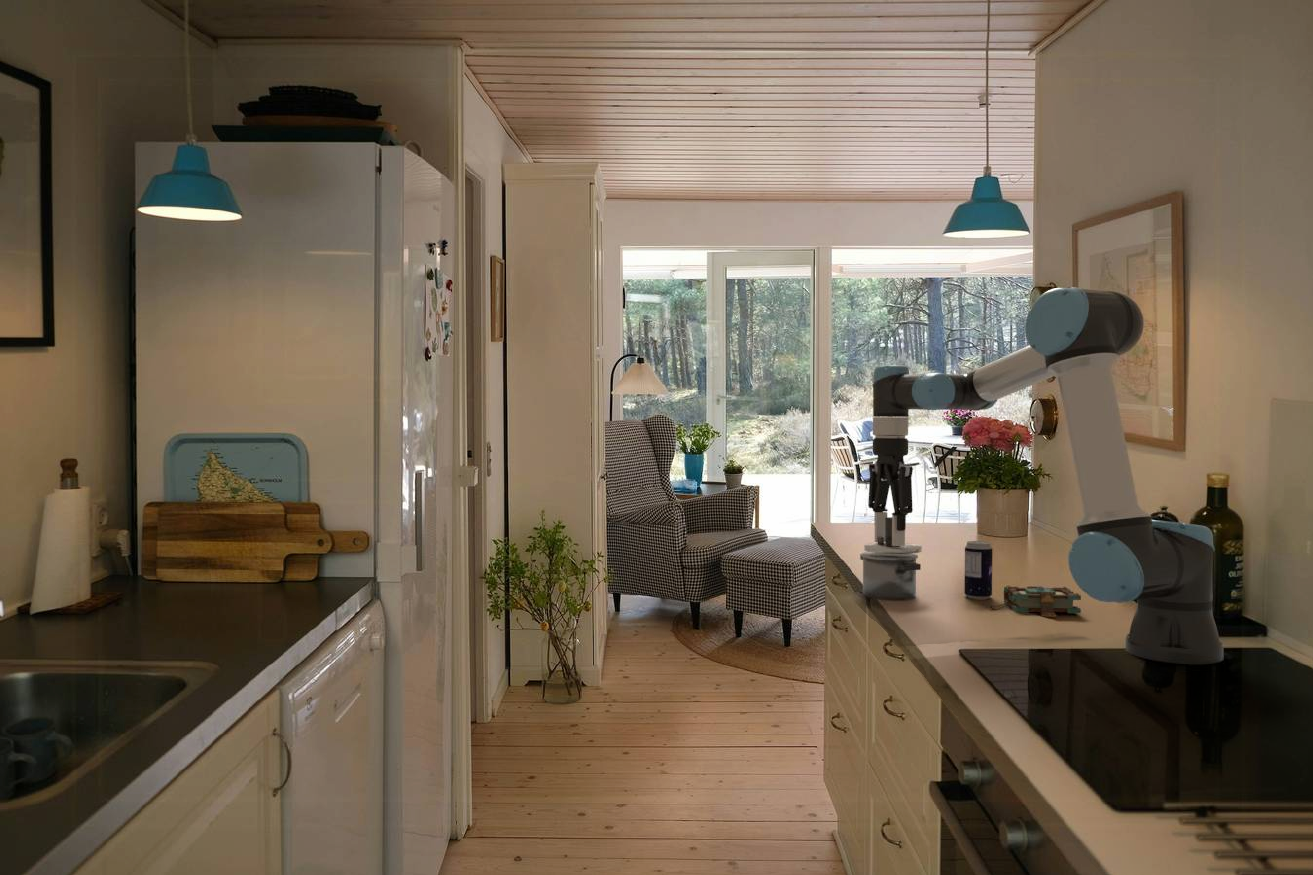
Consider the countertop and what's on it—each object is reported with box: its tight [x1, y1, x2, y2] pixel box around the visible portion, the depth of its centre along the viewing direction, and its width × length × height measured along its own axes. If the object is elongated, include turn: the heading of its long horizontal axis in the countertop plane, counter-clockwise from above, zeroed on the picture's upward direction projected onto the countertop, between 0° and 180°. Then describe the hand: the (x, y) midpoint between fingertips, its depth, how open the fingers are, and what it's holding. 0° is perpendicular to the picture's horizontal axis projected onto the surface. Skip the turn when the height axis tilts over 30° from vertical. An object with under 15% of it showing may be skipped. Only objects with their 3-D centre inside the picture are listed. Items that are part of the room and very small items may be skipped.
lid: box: [863, 516, 923, 554], centre depth 219 cm, size 12×12×7 cm
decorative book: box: [985, 585, 1082, 618], centre depth 207 cm, size 13×18×5 cm
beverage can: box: [963, 540, 993, 601], centre depth 219 cm, size 6×6×12 cm
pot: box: [859, 551, 922, 602], centre depth 221 cm, size 12×17×9 cm
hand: (889, 543), depth 221 cm, fingers closed on lid, 6 cm apart
